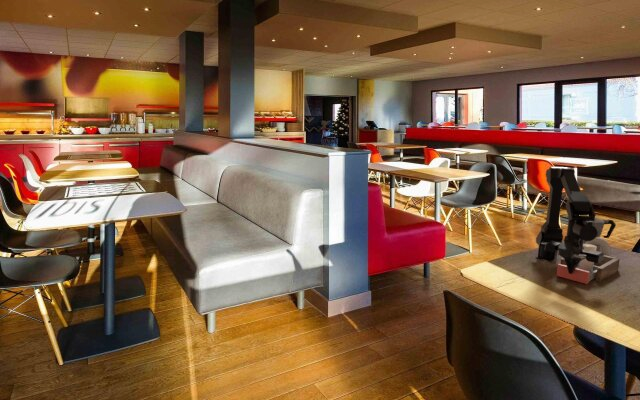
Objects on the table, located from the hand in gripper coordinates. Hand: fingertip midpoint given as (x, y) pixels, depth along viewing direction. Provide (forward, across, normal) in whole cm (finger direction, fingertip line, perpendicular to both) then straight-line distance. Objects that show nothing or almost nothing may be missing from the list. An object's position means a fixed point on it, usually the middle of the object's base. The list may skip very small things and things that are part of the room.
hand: (570, 273), depth 169 cm
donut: (+3, -4, +34) cm, 35 cm away
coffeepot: (+3, -9, +43) cm, 44 cm away
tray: (+3, 0, +9) cm, 10 cm away
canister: (+2, 0, +14) cm, 14 cm away
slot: (+3, 0, +17) cm, 18 cm away
